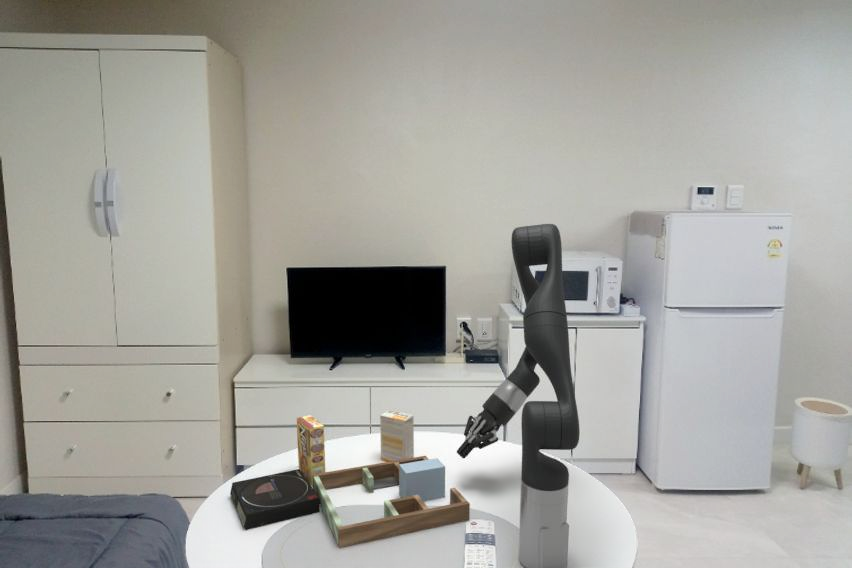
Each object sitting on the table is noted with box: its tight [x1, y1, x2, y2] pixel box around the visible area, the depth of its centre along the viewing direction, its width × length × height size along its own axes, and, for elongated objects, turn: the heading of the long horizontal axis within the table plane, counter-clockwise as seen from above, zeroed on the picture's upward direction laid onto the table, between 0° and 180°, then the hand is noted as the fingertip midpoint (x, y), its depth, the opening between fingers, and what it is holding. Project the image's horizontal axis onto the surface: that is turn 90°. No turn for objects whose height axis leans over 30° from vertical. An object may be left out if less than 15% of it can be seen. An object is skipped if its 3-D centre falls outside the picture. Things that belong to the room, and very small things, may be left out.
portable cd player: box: [229, 468, 321, 531], centre depth 147 cm, size 16×17×4 cm
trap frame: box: [312, 455, 471, 549], centre depth 147 cm, size 27×30×4 cm
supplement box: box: [379, 409, 415, 462], centre depth 170 cm, size 8×5×13 cm, turn 58°
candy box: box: [296, 414, 326, 487], centre depth 159 cm, size 9×4×15 cm, turn 33°
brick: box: [398, 457, 446, 503], centre depth 151 cm, size 5×10×8 cm, turn 112°
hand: (460, 455), depth 154 cm, fingers closed
